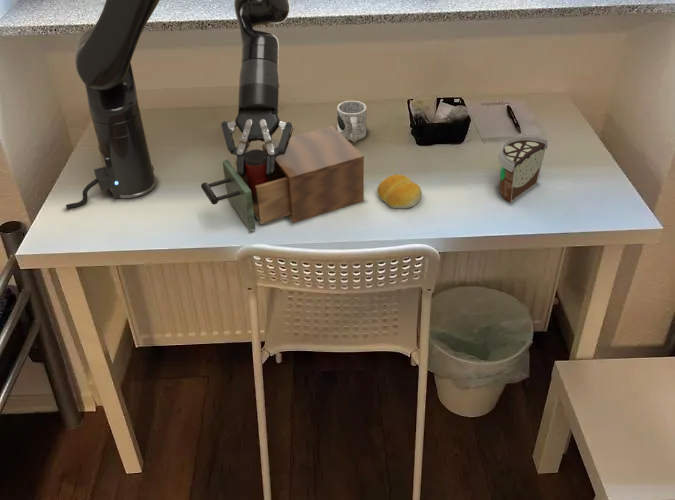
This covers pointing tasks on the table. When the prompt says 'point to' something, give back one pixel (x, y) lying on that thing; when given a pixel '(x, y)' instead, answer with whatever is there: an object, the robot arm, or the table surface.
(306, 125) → the table surface
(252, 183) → the red canister
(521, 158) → the food container
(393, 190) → the bread roll
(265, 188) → the drawer
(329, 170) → the cabinet
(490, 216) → the table surface
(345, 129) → the mug
